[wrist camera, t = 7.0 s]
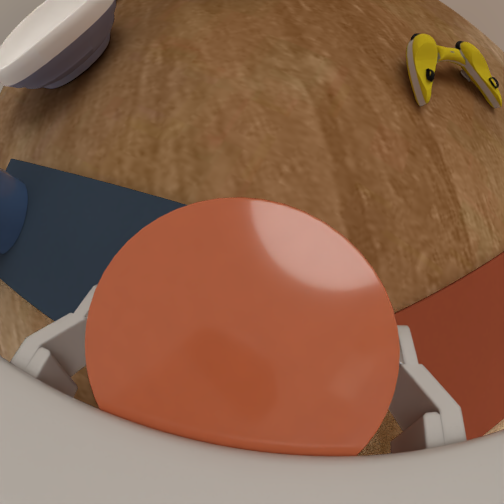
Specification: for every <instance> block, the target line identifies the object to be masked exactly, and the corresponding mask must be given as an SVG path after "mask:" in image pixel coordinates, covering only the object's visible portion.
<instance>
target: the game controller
mask: <svg viewBox="0 0 504 504" xmlns="http://www.w3.org/2000/svg"><path fill="white" fill-rule="evenodd" d="M443 61H447V62H451V63H455V64H457V65H459V66H461V68H462V70H461V74H462V76H464V77H465V78H466V79H467V80H468V81H469V82H470V79H471V80H472V81H473V83H474V84H475V85H476V87H477V88H478V89H479V90H480V92H481V93H482V95H483V96H484V98H485V99H486V101H487V102H488V103H489V104H490V105H491V106H492V107H493V108H499V107H501V106H502V99H501V95H500V92H499V90H498V87H499V84H498V81H497V80H496V79H495V78H494V77H492V76H491V74H490V71H489V69H488V66H487V63H486V61H485V59H484V57H483V56H482V54H481V53H480V52H479V50H478V49H477V48H476V47H475V46H473V45H472V44H470V43H468V42H462V41H458V42H457V43H456V47H454V48H447V47H443V46H438V45H436V43H435V40H434V39H433V38H432V37H431V36H429V35H427V34H414V35H413V36H412V37H411V41H410V42H409V43H408V45H407V48H406V63H407V69H408V75H409V79H410V83H411V87H412V90H413V93H414V96H415V99H416V102H417V104H418V105H419V106H423V105H425V104H427V103H428V102H429V100H430V97H431V88H432V83H433V79H434V76H435V68H436V63H438V62H443ZM493 79H494V80H495V82H496V84H497V86H496V84H495V82H494V80H493Z"/></svg>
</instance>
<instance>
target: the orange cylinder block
mask: <svg viewBox="0 0 504 504" xmlns="http://www.w3.org/2000/svg"><path fill="white" fill-rule="evenodd" d="M399 358H400V346H399V335H398V328H397V323H396V319H395V315H394V311H393V307H392V305H391V302H390V300H389V297H388V295H387V292H386V290H385V288H384V286H383V284H382V282H381V281H380V279H379V277H378V275H377V274H376V272H375V270H374V269H373V267H372V266H371V265H370V263H369V262H368V261H367V260H366V258H365V257H364V256H363V255H362V253H361V252H360V251H359V250H358V249H357V248H356V247H355V246H354V245H353V244H352V243H351V242H350V241H349V240H348V239H347V238H346V237H345V236H343V235H342V234H341V233H339V232H338V231H337V230H335V229H334V228H332V227H331V226H330V225H328V224H327V223H325V222H324V221H322V220H320V219H318V218H316V217H314V216H312V215H311V214H309V213H307V212H305V211H302V210H299V209H297V208H294V207H291V206H289V205H286V204H282V203H278V202H273V201H269V200H264V199H256V198H244V197H234V198H217V199H212V200H206V201H201V202H196V203H193V204H190V205H187V206H184V207H181V208H178V209H176V210H174V211H171V212H169V213H167V214H165V215H163V216H161V217H159V218H158V219H156V220H154V221H153V222H151V223H150V224H148V225H147V226H145V227H144V228H142V229H141V230H140V231H139V232H138V233H137V234H135V235H134V236H133V237H132V238H131V239H130V240H128V241H127V242H126V244H125V245H124V246H123V247H122V248H121V249H120V250H119V251H118V253H117V254H116V255H115V256H114V258H113V259H112V261H111V262H110V263H109V265H108V266H107V268H106V270H105V271H104V273H103V275H102V277H101V279H100V281H99V283H98V285H97V287H96V289H95V292H94V295H93V298H92V301H91V304H90V307H89V312H88V317H87V322H86V330H85V360H86V367H87V372H88V378H89V382H90V385H91V388H92V392H93V395H94V398H95V400H96V402H97V405H98V407H99V409H100V410H102V411H105V412H107V413H110V414H113V415H115V416H118V417H120V418H123V419H126V420H129V421H132V422H134V423H137V424H140V425H143V426H146V427H150V428H153V429H156V430H159V431H163V432H166V433H170V434H173V435H177V436H181V437H185V438H189V439H193V440H197V441H202V442H206V443H211V444H216V445H221V446H227V447H232V448H239V449H245V450H252V451H260V452H268V453H278V454H290V455H306V456H357V455H358V454H359V453H360V452H361V451H362V450H363V449H364V448H365V447H366V445H367V444H368V443H369V441H370V440H371V439H372V437H373V436H374V434H375V433H376V432H377V430H378V429H379V427H380V425H381V423H382V421H383V419H384V417H385V415H386V414H387V412H388V409H389V406H390V403H391V401H392V398H393V395H394V392H395V388H396V383H397V378H398V373H399Z"/></svg>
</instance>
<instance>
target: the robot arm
mask: <svg viewBox="0 0 504 504" xmlns="http://www.w3.org/2000/svg"><path fill="white" fill-rule="evenodd" d="M97 285H98V284H97ZM97 285H95V286H93V287H92V289H91V290H90V291H89V293H88V294H87V295H86V297H85V298H84V299H83V301H82V302H81V304H80V305H79V306H78V308H77V309H76V311H75V312H74V313H69V314H67V315H66V316H64V317H62V318H60V319H58V320H57V321H55V322H53V323H51V324H49V325H48V326H46V327H44V328H42V329H41V330H39V331H37V332H35V333H33V334H32V335H30V336H28V337H26V338H25V340H24V341H23V343H22V344H21V346H20V347H19V349H18V350H17V352H16V353H15V355H14V357H13V358H12V360H11V361H10V362H9V361H7V360H6V359H4V358H3V357H1V356H0V504H504V429H503V430H500V431H497V432H494V433H491V434H488V435H484V436H481V437H477V438H474V439H470V440H467V439H466V433H465V427H464V422H463V416H462V411H461V407H460V406H459V405H458V404H457V402H456V401H455V400H454V399H453V398H452V397H451V396H450V394H449V393H448V392H447V391H446V390H445V389H444V388H443V387H442V385H441V384H440V383H439V382H438V381H437V380H436V379H435V378H434V377H433V375H432V374H431V373H430V372H429V371H428V370H427V369H426V368H425V367H424V366H423V364H418V359H417V355H416V351H415V347H414V343H413V340H412V336H411V332H410V329H409V327H408V326H406V325H397V328H398V335H399V346H400V358H399V373H398V378H397V383H396V388H395V392H394V395H393V398H392V401H391V403H390V406H389V410H390V412H391V413H392V415H393V416H394V418H395V420H396V421H397V423H398V424H399V426H400V428H401V429H402V431H403V432H402V433H401V434H399V435H398V436H397V437H395V438H394V439H393V440H392V441H391V442H390V444H391V454H379V455H363V456H306V455H290V454H278V453H268V452H260V451H252V450H245V449H239V448H232V447H227V446H221V445H216V444H211V443H206V442H202V441H197V440H193V439H189V438H185V437H181V436H177V435H173V434H170V433H166V432H163V431H159V430H156V429H153V428H150V427H146V426H143V425H140V424H137V423H134V422H132V421H129V420H126V419H123V418H120V417H118V416H115V415H113V414H110V413H107V412H105V411H102V410H100V409H98V408H95V407H93V406H91V405H88V404H86V403H84V402H82V401H79V400H77V399H75V398H73V397H74V395H75V393H76V391H77V389H78V388H77V385H76V384H75V383H74V381H73V380H72V379H71V378H70V377H71V376H73V375H74V374H75V373H76V372H78V371H79V370H80V369H82V368H83V367H84V366H85V365H86V360H85V330H86V322H87V317H88V312H89V307H90V304H91V301H92V298H93V295H94V292H95V289H96V287H97Z"/></svg>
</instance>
